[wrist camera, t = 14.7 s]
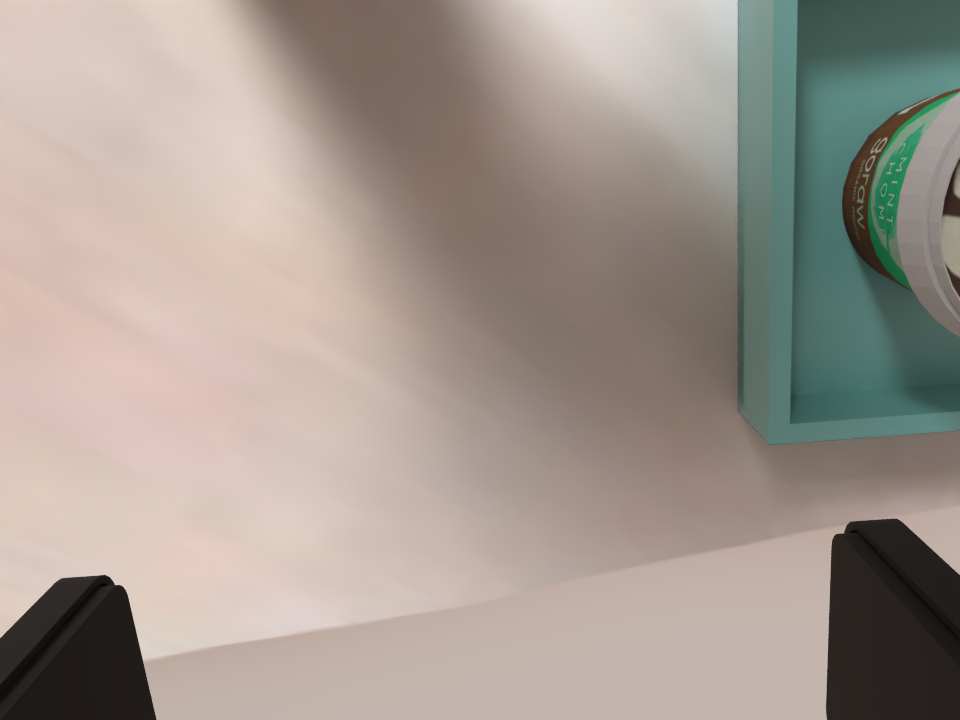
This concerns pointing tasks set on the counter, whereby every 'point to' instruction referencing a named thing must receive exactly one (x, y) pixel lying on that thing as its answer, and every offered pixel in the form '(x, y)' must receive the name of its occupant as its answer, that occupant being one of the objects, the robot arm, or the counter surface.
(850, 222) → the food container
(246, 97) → the counter surface
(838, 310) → the tray
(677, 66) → the counter surface
